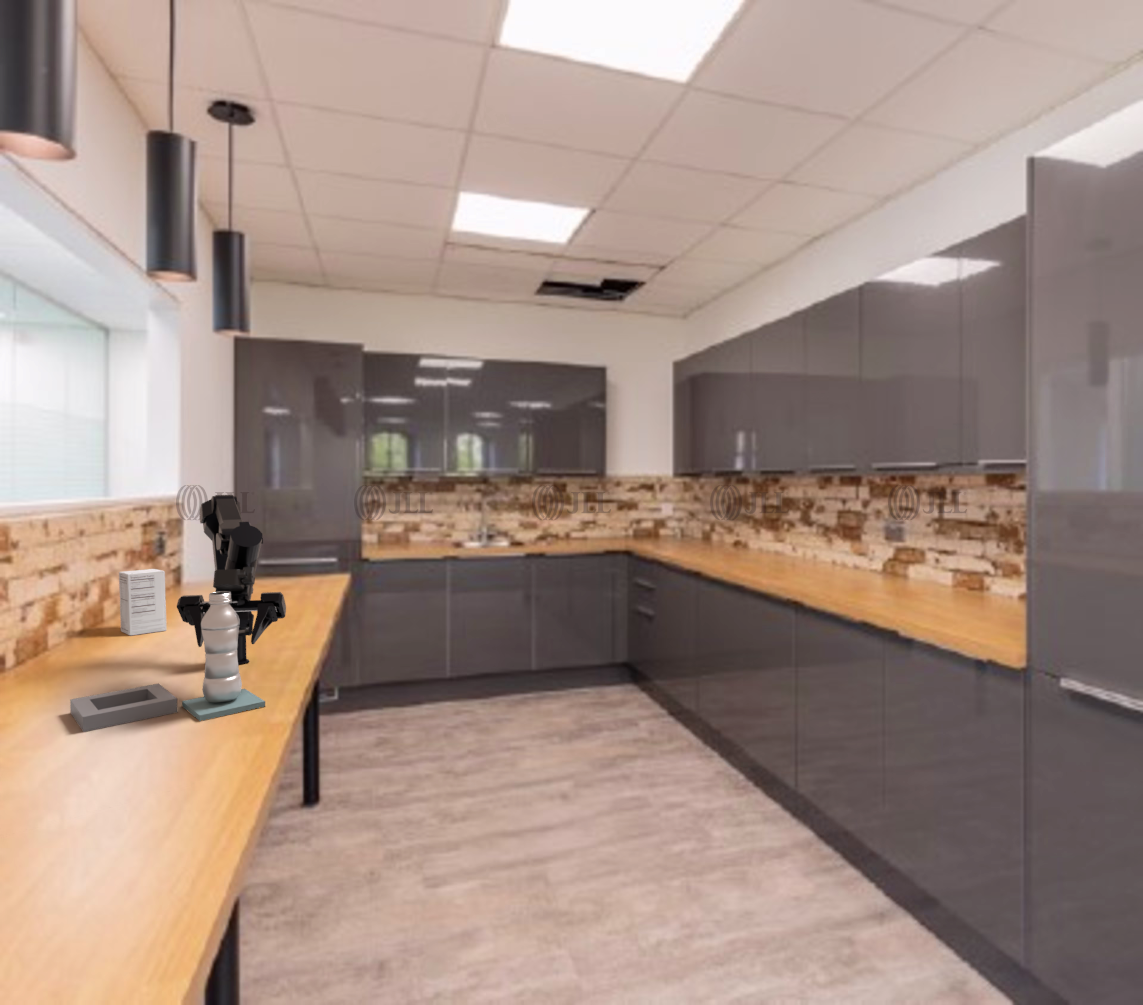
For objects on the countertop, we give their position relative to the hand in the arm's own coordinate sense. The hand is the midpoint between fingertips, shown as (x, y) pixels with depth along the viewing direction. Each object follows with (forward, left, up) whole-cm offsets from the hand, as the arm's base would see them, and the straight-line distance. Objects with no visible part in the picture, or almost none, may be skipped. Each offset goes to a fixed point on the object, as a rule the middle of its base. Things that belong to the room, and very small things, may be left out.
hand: (226, 644), depth 131 cm
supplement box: (-3, -83, -11) cm, 84 cm away
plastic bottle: (+2, +3, -10) cm, 10 cm away
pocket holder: (+16, -6, -11) cm, 20 cm away
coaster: (+2, +3, -11) cm, 11 cm away
